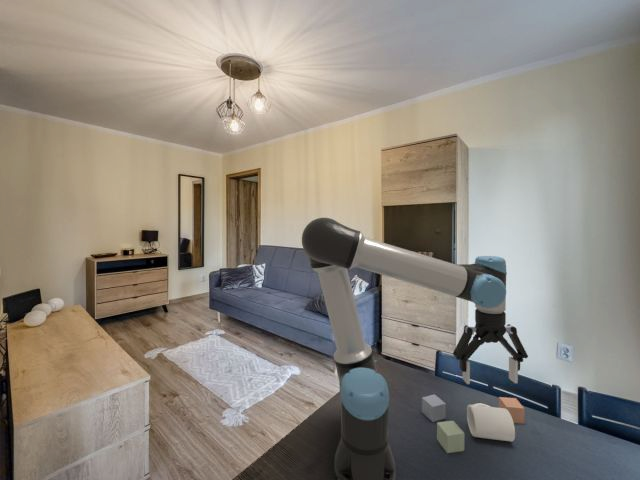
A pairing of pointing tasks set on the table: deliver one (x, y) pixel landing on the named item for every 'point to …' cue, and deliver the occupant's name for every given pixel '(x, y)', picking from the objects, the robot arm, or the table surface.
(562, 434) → the table surface
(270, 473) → the table surface
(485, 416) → the mug
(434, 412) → the slate block
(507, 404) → the terracotta block
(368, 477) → the robot arm
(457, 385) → the table surface
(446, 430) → the sage block
